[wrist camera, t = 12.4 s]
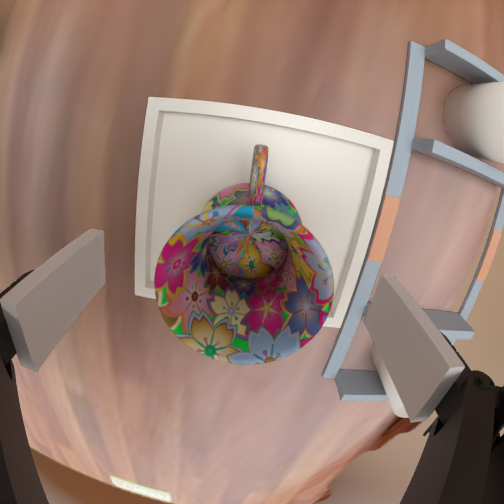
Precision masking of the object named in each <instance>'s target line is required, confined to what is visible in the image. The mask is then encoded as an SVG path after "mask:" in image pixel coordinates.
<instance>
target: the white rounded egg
mask: <svg viewBox="0 0 504 504" xmlns="http://www.w3.org/2000/svg"><path fill="white" fill-rule="evenodd" d="M371 357H372V360H373V362H374V365H375V367H376V369H377V372H378V374H379V377H380V379H381V382H382V384H383V387H384V389H385V391H386V394H387V397H388V399H389V402H390V404H391V407H392V409H393V412H394V413H395V415H397V416H399V417H403V418H409V417H408V415H407V412H406V410H405V408H404V406H403V403H402V401H401V399H400V397H399V394H398V392H397V390H396V388H395V385H394V383H393V381H392V379H391V377H390V375H389V372H388V370H387V368H386V366H385V364H384V362H383V360H382V358H381V356H380V354H379V352H378V349H377V347H376V345H375V343H373V346H372V349H371Z"/></svg>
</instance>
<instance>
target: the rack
mask: <svg viewBox="0 0 504 504" xmlns="http://www.w3.org/2000/svg"><path fill="white" fill-rule="evenodd" d="M424 59H427V60H429V61H431V62H433V63H435V64H437V65H439V66H441V67H443V68H445V69H447V70H449V71H451V72H453V73H454V74H456V75H458V76H460V77H462V78H464V79H465V80H467V81H469V82H470V83H472V84H482V83H491V82H501V81H504V75H502V74H501V73H500V72H498V71H497V70H495V69H494V68H493V67H491V66H490V65H488V64H487V63H485V62H484V61H482V60H481V59H479V58H477V57H476V56H474V55H473V54H471V53H469V52H468V51H466V50H464V49H463V48H461V47H459V46H458V45H456V44H454V43H452V42H450V41H449V40H447V39H444V40H441V41H439V42H436V43H434V44H432V45H429V46H427V47H424V46H422V45H419V44H417V43H415V42H413V41H410V42H409V45H408V56H407V65H406V74H405V82H404V89H403V96H402V103H401V110H400V116H399V121H398V127H397V133H396V138H395V143H394V148H393V153H392V158H391V162H390V167H389V171H388V176H387V180H386V184H385V189H384V193H383V197H382V201H381V205H380V208H379V212H378V216H377V220H376V223H375V227H374V230H373V234H372V237H371V241H370V244H369V247H368V251H367V254H366V257H365V260H364V264H363V267H362V270H361V273H360V276H359V279H358V282H357V285H356V288H355V291H354V294H353V297H352V299H351V302H350V305H349V308H348V311H347V313H346V316H345V319H344V321H343V324H342V327H341V329H340V332H339V334H338V337H337V339H336V342H335V344H334V347H333V349H332V352H331V354H330V357H329V359H328V362H327V364H326V366H325V369H324V371H323V373H322V377H323V378H335V381H336V385H337V388H338V392H339V396H340V400H341V401H389V399H388V397H387V394H386V391H385V389H384V387H383V384H382V382H381V379H380V377H379V374H378V372H377V371H361V370H341V369H340V366H341V364H342V362H343V360H344V358H345V355H346V353H347V351H348V348H349V346H350V344H351V342H352V339H353V337H354V334H355V332H356V330H357V327H358V325H359V322H360V320H361V317H362V315H363V314H364V316H365V317H366V315H367V312H368V310H369V307H370V305H371V303H370V302H368V299H369V296H370V294H371V291H372V288H373V285H374V282H375V280H376V277H377V274H378V271H379V268H380V265H381V262H382V261H383V257H384V254H385V251H386V248H387V245H388V242H389V238H390V235H391V232H392V228H393V225H394V221H395V218H396V214H397V211H398V207H399V203H400V197H401V193H402V189H403V185H404V181H405V177H406V172H407V168H408V163H409V159H410V154H411V149H412V150H414V151H417V152H420V153H423V154H425V155H428V156H431V157H433V158H436V159H438V160H441V161H443V162H446V163H448V164H451V165H453V166H456V167H458V168H460V169H463V170H465V171H467V172H469V173H472V174H474V175H476V176H478V177H480V178H483V179H485V180H487V181H489V182H491V183H493V184H495V185H497V186H499V187H501V188H502V189H501V193H500V198H499V202H498V205H497V209H496V213H495V216H494V220H493V223H492V227H491V230H490V233H489V236H488V239H487V242H486V245H485V248H484V251H483V254H482V257H481V260H480V262H479V265H478V268H477V270H476V273H475V275H474V278H473V280H472V283H471V285H470V287H469V290H468V292H467V295H466V297H465V299H464V301H463V303H462V306H461V308H460V310H459V312H448V311H438V310H429V309H422V310H423V311H424V312H425V313H426V315H427V316H428V317H429V318H430V320H431V321H432V322H433V324H434V325H435V326H436V327H437V329H438V330H439V331H440V332H442V333H443V334H444V335H445V336H446V337H447V338H448V339H449V341H450V342H451V343H452V345H453V344H454V342H455V340H456V339H471V338H472V336H473V334H474V333H475V331H474V330H473V329H472V327H471V326H470V325H469V324H468V323H467V322H466V319H467V317H468V315H469V313H470V311H471V309H472V307H473V305H474V302H475V300H476V298H477V296H478V294H479V291H480V289H481V287H482V284H483V282H484V281H485V278H486V276H487V273H488V271H489V268H490V266H491V263H492V260H493V258H494V255H495V252H496V249H497V246H498V243H499V240H500V237H501V234H502V229H503V225H504V173H503V172H501V171H499V170H497V169H496V168H494V167H492V166H490V165H488V164H486V163H484V162H482V161H480V160H478V159H476V158H474V157H472V156H470V155H468V154H466V153H463V152H461V151H459V150H457V149H455V148H452V147H450V146H448V145H446V144H443V143H441V142H439V141H436V140H432V139H420V138H414V133H415V127H416V122H417V115H418V109H419V102H420V95H421V87H422V79H423V69H424Z"/></svg>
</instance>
